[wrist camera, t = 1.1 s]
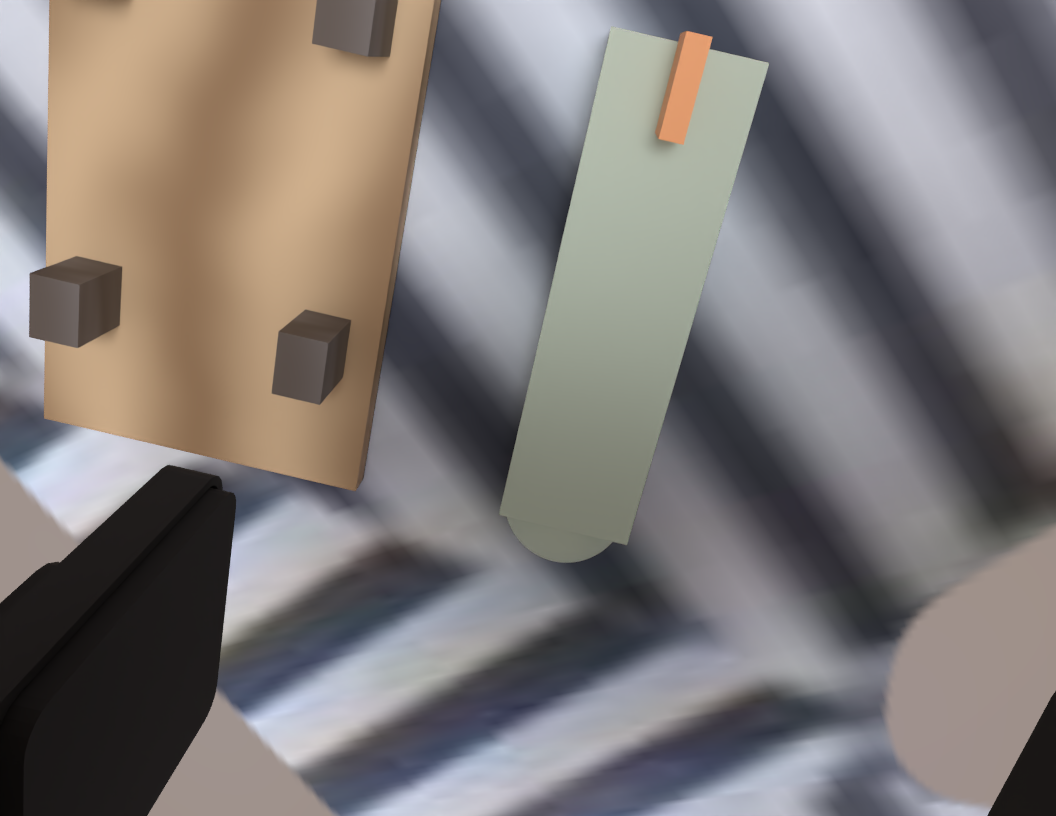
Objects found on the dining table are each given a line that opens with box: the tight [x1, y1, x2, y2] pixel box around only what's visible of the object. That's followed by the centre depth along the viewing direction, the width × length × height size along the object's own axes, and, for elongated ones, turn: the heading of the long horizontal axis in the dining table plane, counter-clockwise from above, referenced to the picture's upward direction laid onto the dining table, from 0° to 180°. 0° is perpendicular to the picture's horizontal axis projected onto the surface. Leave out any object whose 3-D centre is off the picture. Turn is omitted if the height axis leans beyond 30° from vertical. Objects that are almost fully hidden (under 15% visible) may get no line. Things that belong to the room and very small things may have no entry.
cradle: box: [29, 0, 441, 491], centre depth 27 cm, size 11×20×4 cm, turn 168°
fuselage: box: [499, 26, 769, 563], centre depth 26 cm, size 4×16×6 cm, turn 168°
